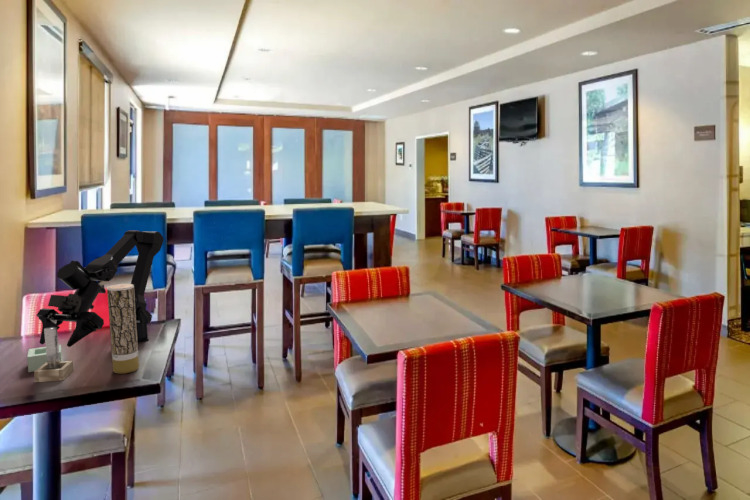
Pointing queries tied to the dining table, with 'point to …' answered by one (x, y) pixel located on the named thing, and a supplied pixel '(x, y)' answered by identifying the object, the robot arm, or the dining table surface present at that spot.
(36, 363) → the socket block
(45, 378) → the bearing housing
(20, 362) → the dining table surface
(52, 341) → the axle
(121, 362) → the wooden log
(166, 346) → the dining table surface
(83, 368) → the dining table surface
